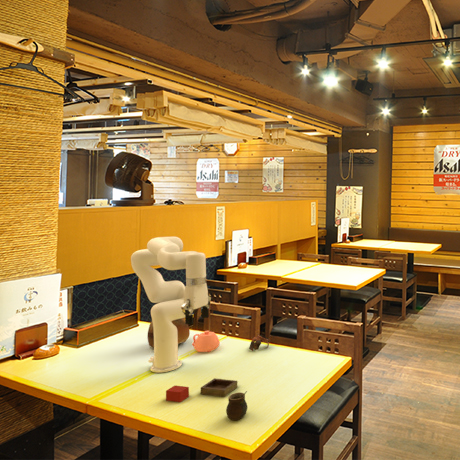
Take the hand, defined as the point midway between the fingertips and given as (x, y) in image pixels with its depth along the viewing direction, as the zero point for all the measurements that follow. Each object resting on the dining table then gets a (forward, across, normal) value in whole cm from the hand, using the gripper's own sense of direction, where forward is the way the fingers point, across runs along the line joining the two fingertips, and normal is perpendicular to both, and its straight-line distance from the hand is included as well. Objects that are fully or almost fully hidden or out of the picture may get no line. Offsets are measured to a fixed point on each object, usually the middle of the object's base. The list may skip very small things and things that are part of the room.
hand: (197, 320), depth 158 cm
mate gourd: (+29, +21, +31) cm, 47 cm away
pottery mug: (+28, -41, +5) cm, 50 cm away
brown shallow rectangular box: (+28, +4, +12) cm, 31 cm away
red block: (+28, +13, 0) cm, 31 cm away
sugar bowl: (+27, -35, -22) cm, 50 cm away
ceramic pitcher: (+26, -38, -46) cm, 65 cm away
